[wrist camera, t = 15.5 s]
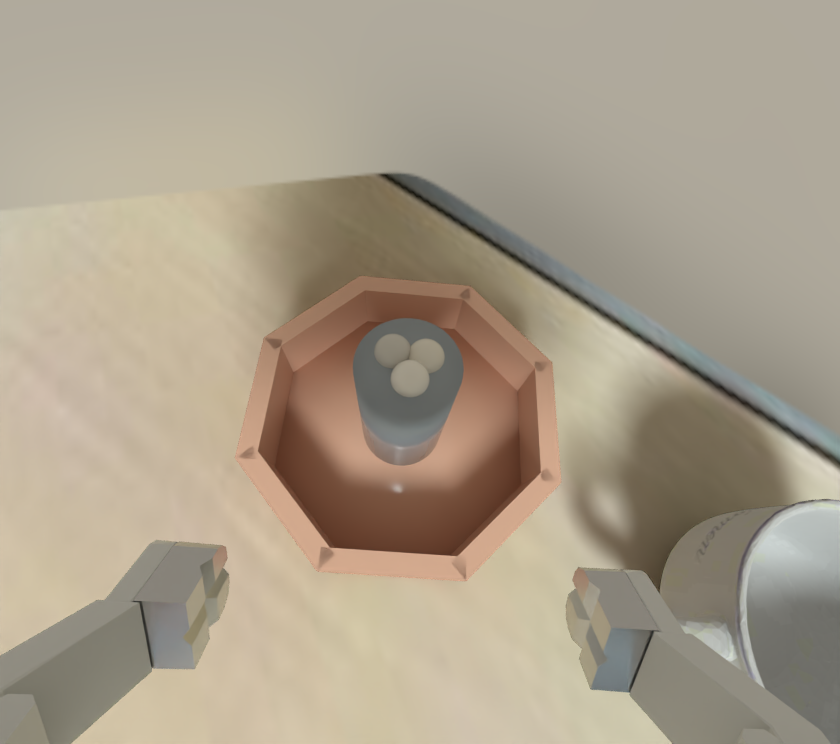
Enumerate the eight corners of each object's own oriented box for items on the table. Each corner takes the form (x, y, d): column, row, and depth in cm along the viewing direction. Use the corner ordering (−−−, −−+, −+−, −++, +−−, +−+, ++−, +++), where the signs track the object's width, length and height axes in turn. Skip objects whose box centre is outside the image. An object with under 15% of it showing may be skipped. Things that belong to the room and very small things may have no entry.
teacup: (810, 541, 25) (979, 531, 18) (847, 772, 21) (1092, 883, 14) (580, 486, 26) (656, 455, 19) (567, 703, 21) (661, 774, 14)
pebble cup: (358, 462, 24) (343, 406, 16) (367, 388, 26) (358, 303, 18) (438, 468, 25) (466, 416, 16) (441, 394, 27) (467, 313, 18)
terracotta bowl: (240, 564, 23) (208, 564, 19) (295, 309, 29) (280, 268, 25) (537, 584, 23) (569, 587, 19) (525, 330, 30) (547, 293, 26)
